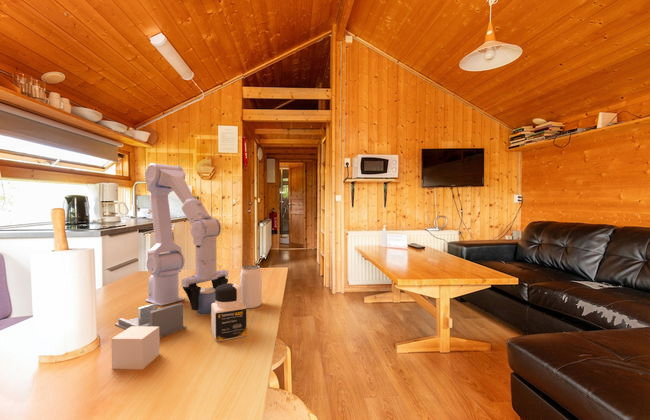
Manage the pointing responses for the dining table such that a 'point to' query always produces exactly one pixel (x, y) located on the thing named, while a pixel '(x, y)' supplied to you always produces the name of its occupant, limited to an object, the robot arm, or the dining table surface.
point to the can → (251, 286)
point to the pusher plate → (145, 313)
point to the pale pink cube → (135, 347)
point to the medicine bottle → (228, 313)
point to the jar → (206, 300)
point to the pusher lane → (160, 320)
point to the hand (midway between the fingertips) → (206, 305)
